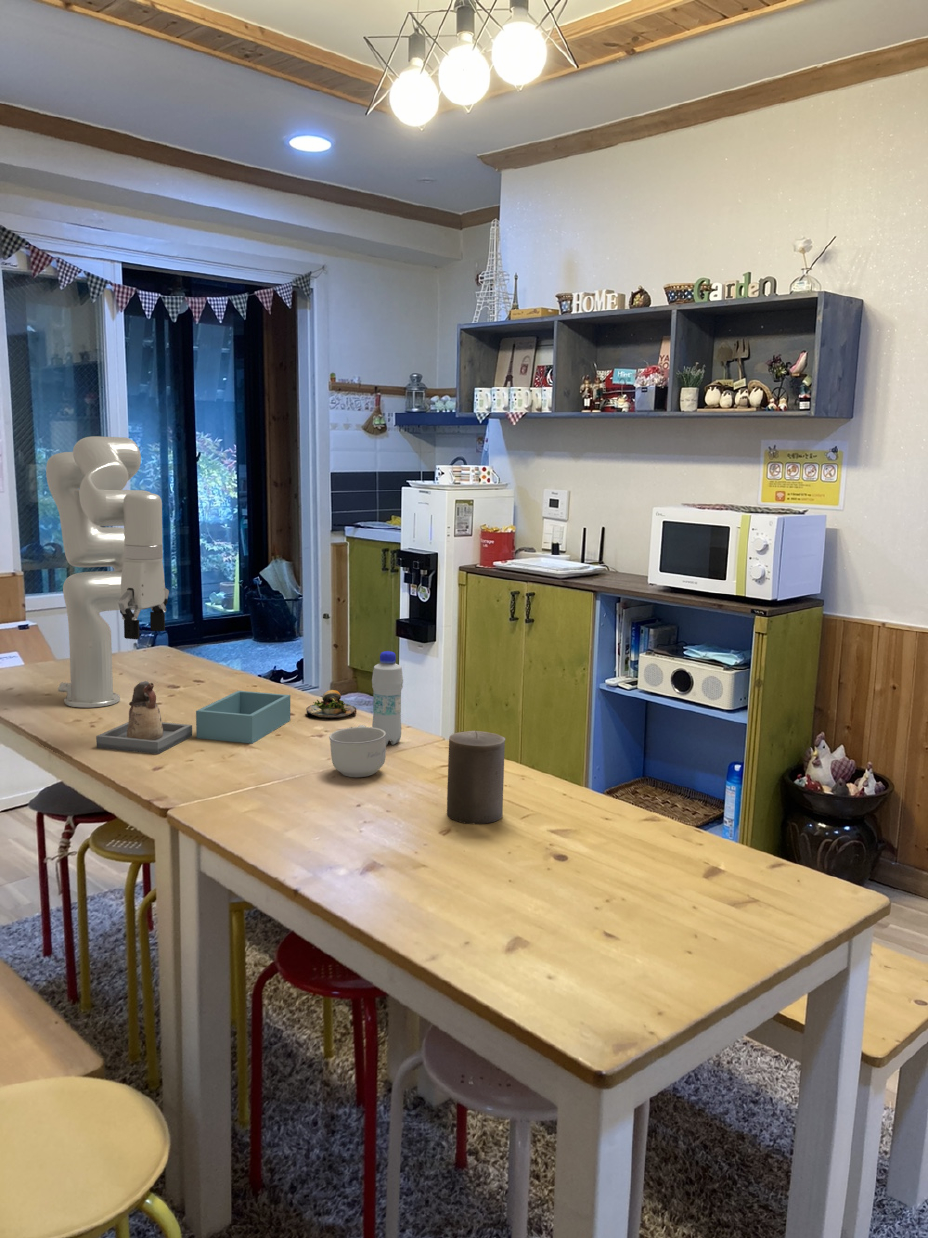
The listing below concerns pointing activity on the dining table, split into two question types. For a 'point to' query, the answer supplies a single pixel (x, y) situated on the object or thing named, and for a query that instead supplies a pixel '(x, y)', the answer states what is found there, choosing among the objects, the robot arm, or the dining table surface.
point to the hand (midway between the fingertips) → (145, 634)
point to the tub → (243, 716)
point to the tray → (119, 740)
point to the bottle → (387, 696)
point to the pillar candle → (475, 777)
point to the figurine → (144, 714)
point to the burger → (331, 706)
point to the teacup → (358, 750)
